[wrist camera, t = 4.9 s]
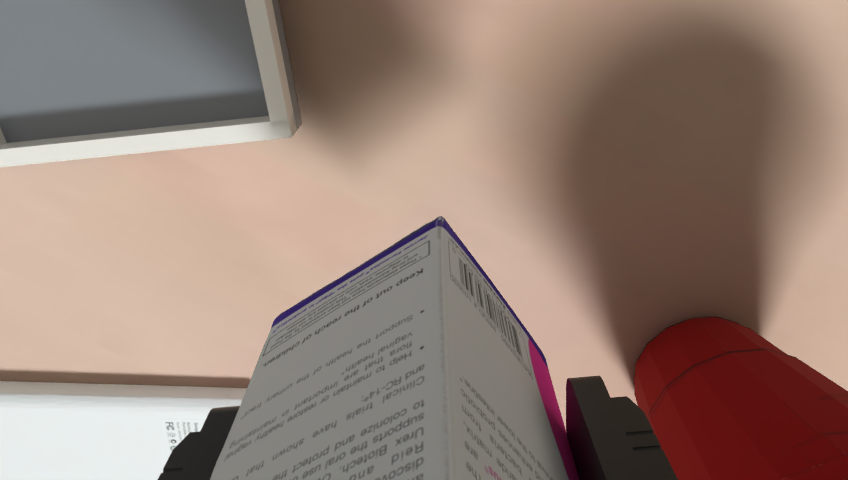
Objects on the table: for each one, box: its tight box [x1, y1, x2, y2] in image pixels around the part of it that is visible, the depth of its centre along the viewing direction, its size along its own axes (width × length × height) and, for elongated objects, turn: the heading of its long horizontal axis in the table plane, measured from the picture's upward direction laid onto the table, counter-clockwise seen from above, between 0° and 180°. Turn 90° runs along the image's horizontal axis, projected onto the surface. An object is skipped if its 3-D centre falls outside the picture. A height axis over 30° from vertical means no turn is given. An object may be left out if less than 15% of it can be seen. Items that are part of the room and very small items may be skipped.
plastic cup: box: [634, 317, 848, 480], centre depth 21 cm, size 11×11×12 cm
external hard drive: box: [0, 381, 247, 480], centre depth 27 cm, size 2×8×12 cm
